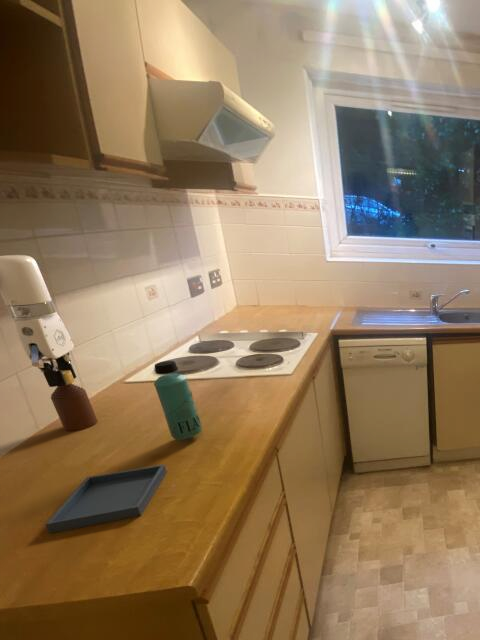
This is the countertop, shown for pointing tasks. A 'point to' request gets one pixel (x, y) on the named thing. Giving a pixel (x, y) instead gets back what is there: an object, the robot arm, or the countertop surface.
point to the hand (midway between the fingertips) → (63, 381)
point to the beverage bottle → (177, 401)
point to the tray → (108, 498)
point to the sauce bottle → (73, 407)
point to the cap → (68, 376)
